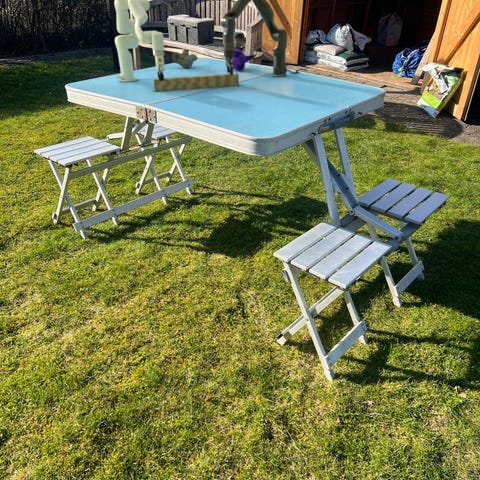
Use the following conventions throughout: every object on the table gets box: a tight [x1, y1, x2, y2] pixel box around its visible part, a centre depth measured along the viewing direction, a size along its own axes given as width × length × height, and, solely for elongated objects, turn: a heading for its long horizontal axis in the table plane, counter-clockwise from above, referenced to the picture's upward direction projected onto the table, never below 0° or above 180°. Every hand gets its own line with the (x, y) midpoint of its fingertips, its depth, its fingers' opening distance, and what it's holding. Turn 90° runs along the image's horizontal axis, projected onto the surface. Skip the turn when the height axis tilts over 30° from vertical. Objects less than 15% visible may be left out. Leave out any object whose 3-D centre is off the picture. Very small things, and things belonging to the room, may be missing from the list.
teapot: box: [172, 48, 198, 69], centre depth 382 cm, size 21×12×15 cm, turn 109°
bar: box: [152, 72, 240, 92], centre depth 314 cm, size 59×5×8 cm, turn 104°
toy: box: [231, 48, 258, 72], centre depth 368 cm, size 16×18×27 cm
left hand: (161, 79), depth 307 cm, fingers open, 9 cm apart
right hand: (230, 73), depth 316 cm, fingers open, 8 cm apart
